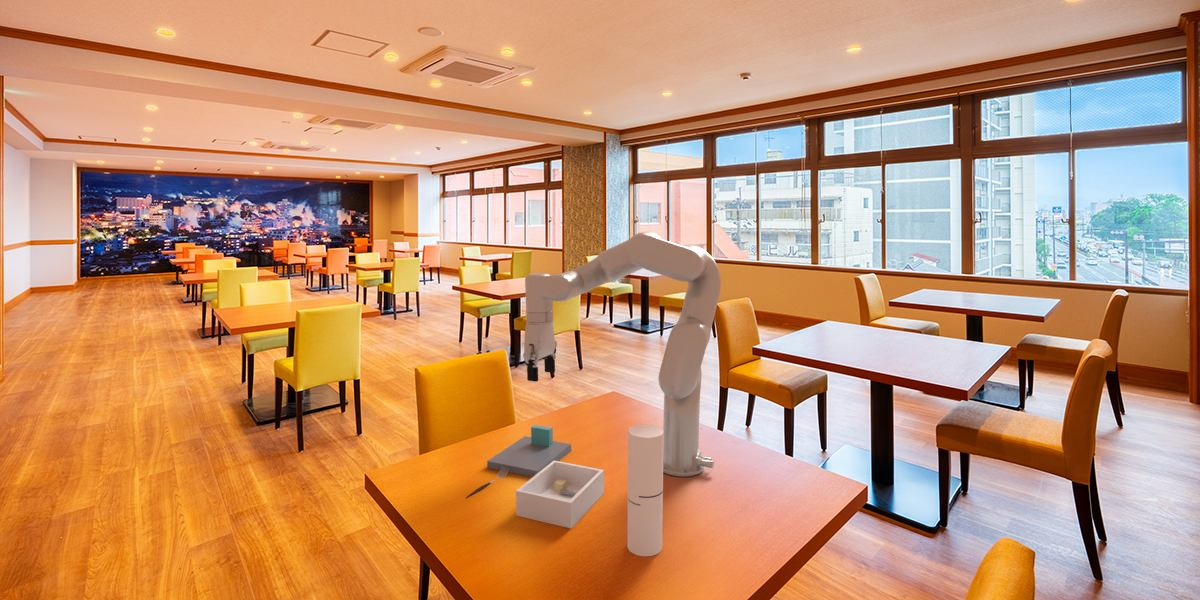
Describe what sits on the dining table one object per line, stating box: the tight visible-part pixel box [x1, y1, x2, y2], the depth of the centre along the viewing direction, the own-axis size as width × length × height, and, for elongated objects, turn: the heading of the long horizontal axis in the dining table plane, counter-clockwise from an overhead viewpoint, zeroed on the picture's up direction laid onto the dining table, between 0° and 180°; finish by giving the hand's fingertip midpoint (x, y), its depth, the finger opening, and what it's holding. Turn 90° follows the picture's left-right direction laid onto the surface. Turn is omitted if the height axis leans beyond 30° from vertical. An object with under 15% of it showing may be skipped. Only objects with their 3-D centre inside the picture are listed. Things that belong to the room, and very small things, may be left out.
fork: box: [465, 467, 509, 499], centre depth 148 cm, size 3×16×2 cm, turn 152°
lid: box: [486, 424, 572, 478], centre depth 163 cm, size 16×20×7 cm
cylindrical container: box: [626, 424, 664, 557], centre depth 118 cm, size 7×7×25 cm
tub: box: [515, 460, 605, 530], centre depth 138 cm, size 14×18×6 cm
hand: (541, 376), depth 166 cm, fingers open, 9 cm apart
